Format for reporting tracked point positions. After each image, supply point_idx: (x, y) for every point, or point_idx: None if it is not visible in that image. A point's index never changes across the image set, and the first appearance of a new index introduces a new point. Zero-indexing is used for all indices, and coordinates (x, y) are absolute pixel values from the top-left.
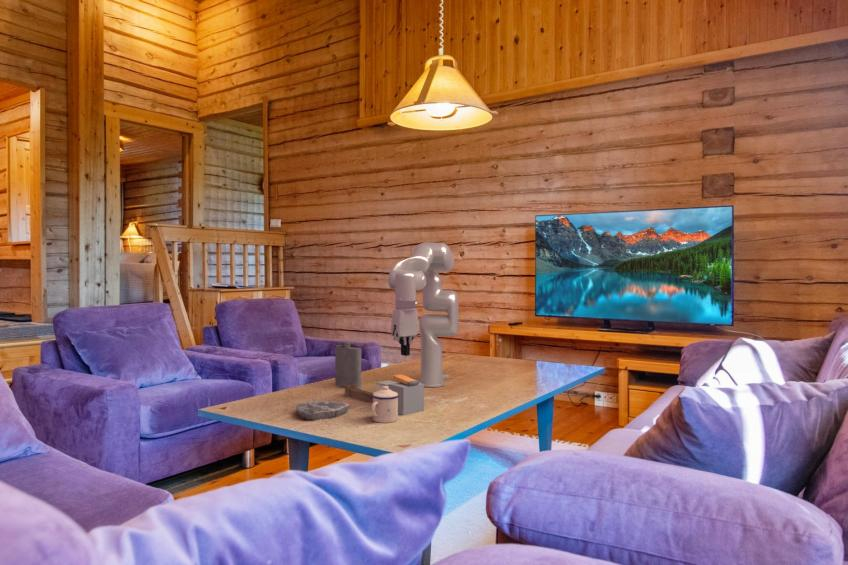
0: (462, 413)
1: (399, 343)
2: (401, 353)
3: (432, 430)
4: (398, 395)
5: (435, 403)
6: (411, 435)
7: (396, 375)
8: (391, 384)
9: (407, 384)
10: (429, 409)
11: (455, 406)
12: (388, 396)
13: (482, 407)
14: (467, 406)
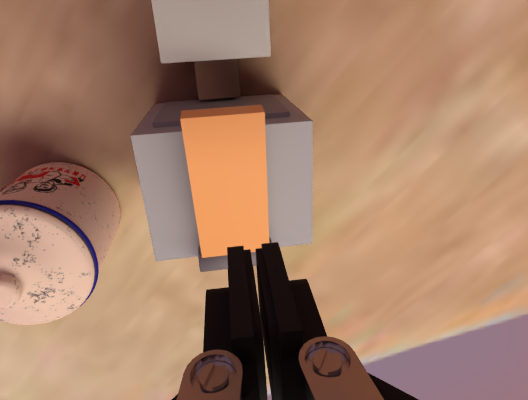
0: (363, 285)
1: (188, 366)
2: (228, 261)
3: (147, 375)
4: (87, 297)
5: (414, 116)
6: (60, 384)
7: (205, 129)
8: (139, 152)
9: (198, 246)
10: (319, 181)
11: (427, 202)
12: (6, 322)
13: (476, 263)
14: (455, 226)
